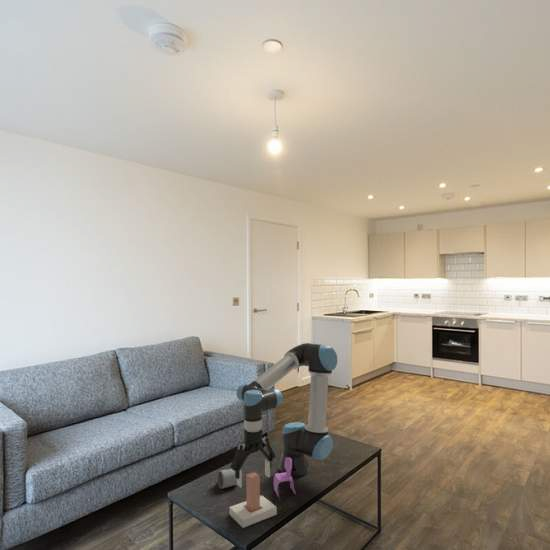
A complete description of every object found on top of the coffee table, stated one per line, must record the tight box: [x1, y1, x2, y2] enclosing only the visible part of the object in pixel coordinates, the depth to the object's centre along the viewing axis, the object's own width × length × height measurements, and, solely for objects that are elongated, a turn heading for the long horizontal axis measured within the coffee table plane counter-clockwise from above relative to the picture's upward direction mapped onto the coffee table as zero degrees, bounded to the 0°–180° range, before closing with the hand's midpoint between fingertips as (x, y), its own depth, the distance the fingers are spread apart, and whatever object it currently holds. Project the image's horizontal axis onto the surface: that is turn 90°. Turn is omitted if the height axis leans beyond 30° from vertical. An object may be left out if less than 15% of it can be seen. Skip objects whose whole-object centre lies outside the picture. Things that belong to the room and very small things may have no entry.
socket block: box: [228, 495, 278, 529], centre depth 163 cm, size 16×11×3 cm
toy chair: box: [273, 457, 297, 498], centre depth 181 cm, size 8×9×15 cm
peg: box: [245, 471, 261, 513], centre depth 163 cm, size 4×4×16 cm
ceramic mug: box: [217, 468, 237, 489], centre depth 188 cm, size 11×8×8 cm
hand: (253, 480), depth 164 cm, fingers open, 13 cm apart
